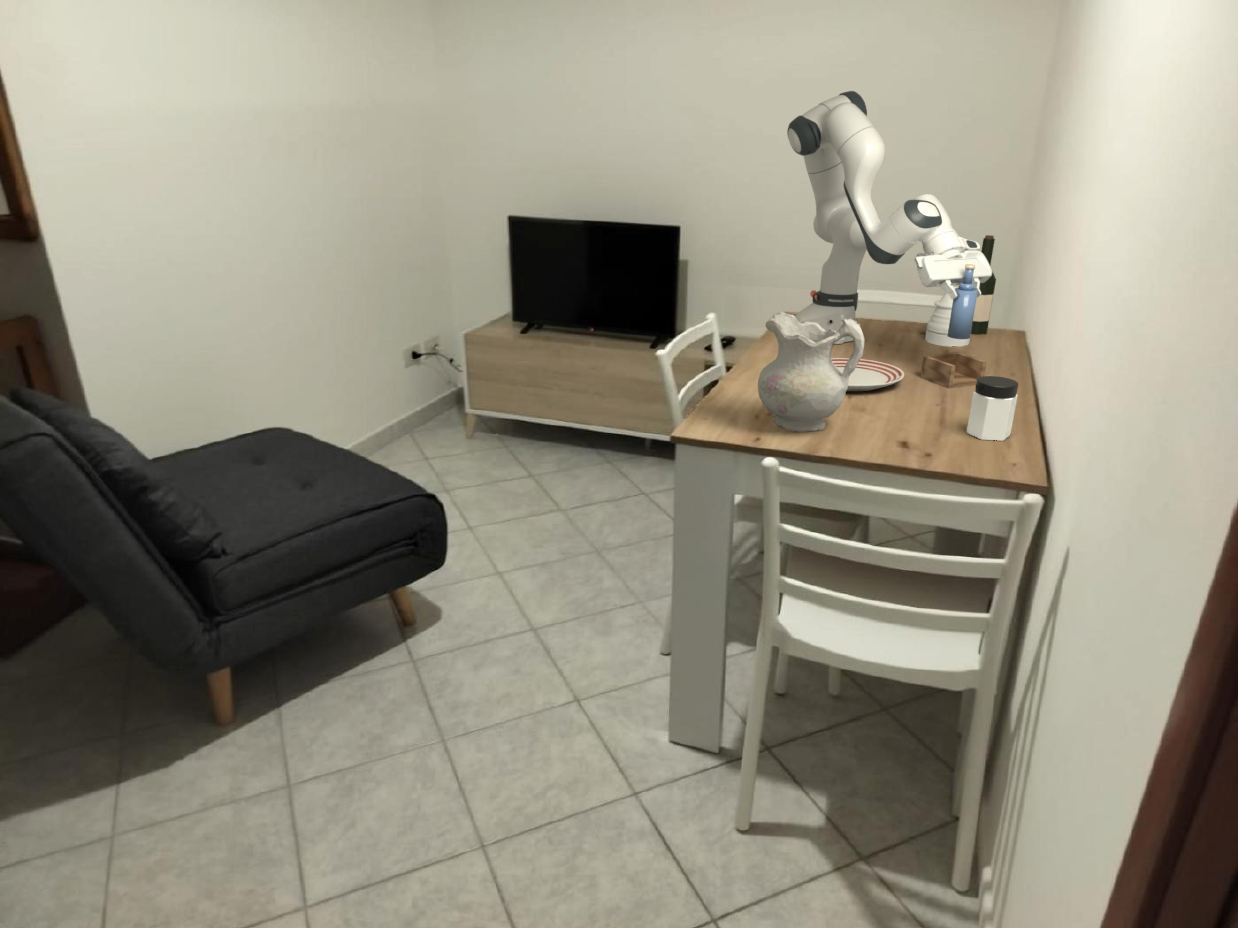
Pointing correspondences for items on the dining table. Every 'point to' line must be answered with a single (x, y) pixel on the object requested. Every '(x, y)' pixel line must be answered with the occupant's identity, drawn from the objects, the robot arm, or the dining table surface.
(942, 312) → the honey pot
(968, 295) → the bottle
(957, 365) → the holder
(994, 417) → the jar
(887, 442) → the dining table surface
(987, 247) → the wine bottle
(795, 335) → the ceramic pitcher
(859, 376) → the dinner plate
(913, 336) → the dining table surface
